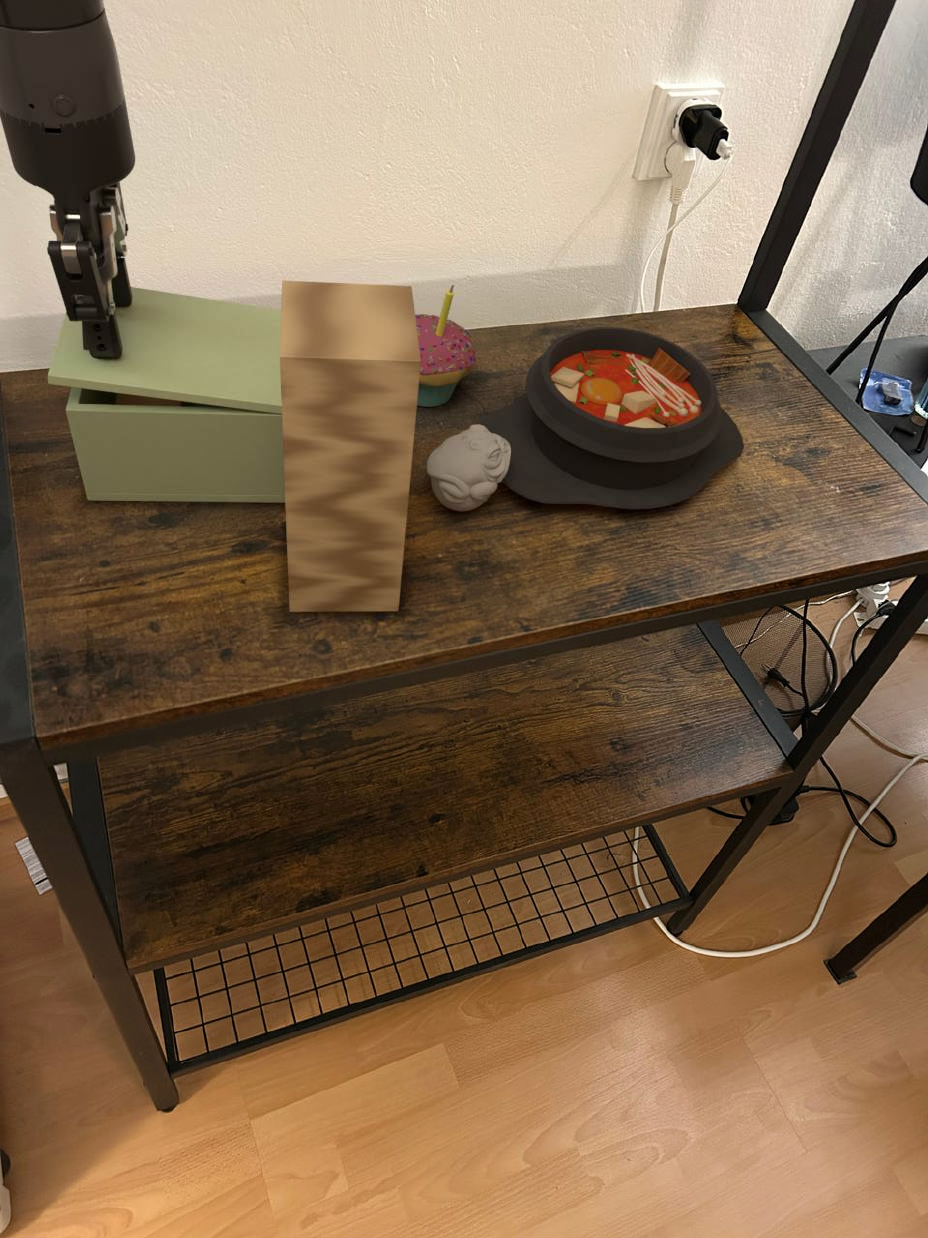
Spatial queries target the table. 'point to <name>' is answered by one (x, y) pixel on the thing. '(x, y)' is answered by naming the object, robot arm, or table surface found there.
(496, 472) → the frog figurine
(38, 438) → the table surface
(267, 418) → the chest
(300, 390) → the tall wooden pillar
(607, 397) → the casserole
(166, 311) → the lid
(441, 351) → the cupcake
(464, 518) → the table surface
